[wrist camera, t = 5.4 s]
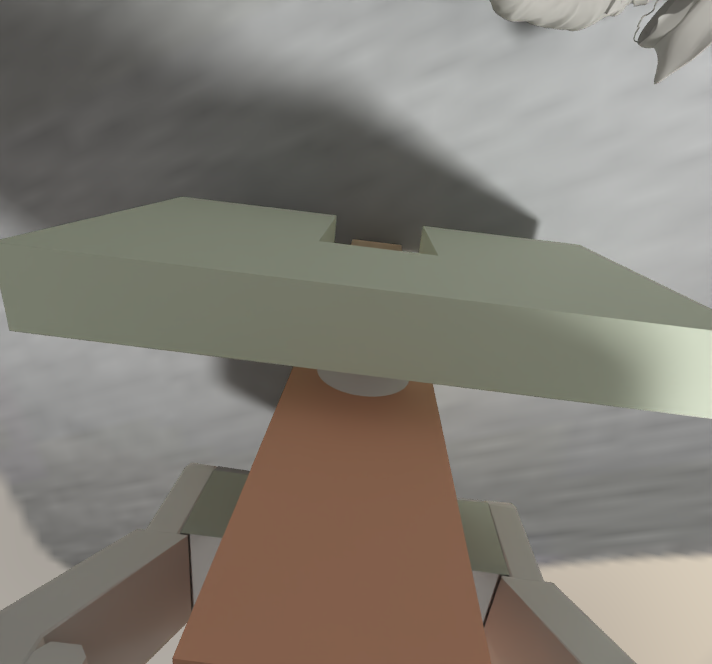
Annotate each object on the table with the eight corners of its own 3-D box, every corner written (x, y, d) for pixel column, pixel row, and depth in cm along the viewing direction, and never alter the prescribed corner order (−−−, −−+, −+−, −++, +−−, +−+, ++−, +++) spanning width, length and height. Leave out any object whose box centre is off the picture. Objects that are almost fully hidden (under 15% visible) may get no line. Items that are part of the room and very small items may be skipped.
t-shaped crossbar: (182, 196, 13) (-477, 351, 3) (579, 245, 13) (1250, 571, 3) (189, 384, 16) (-160, 809, 6) (523, 426, 16) (783, 939, 5)
